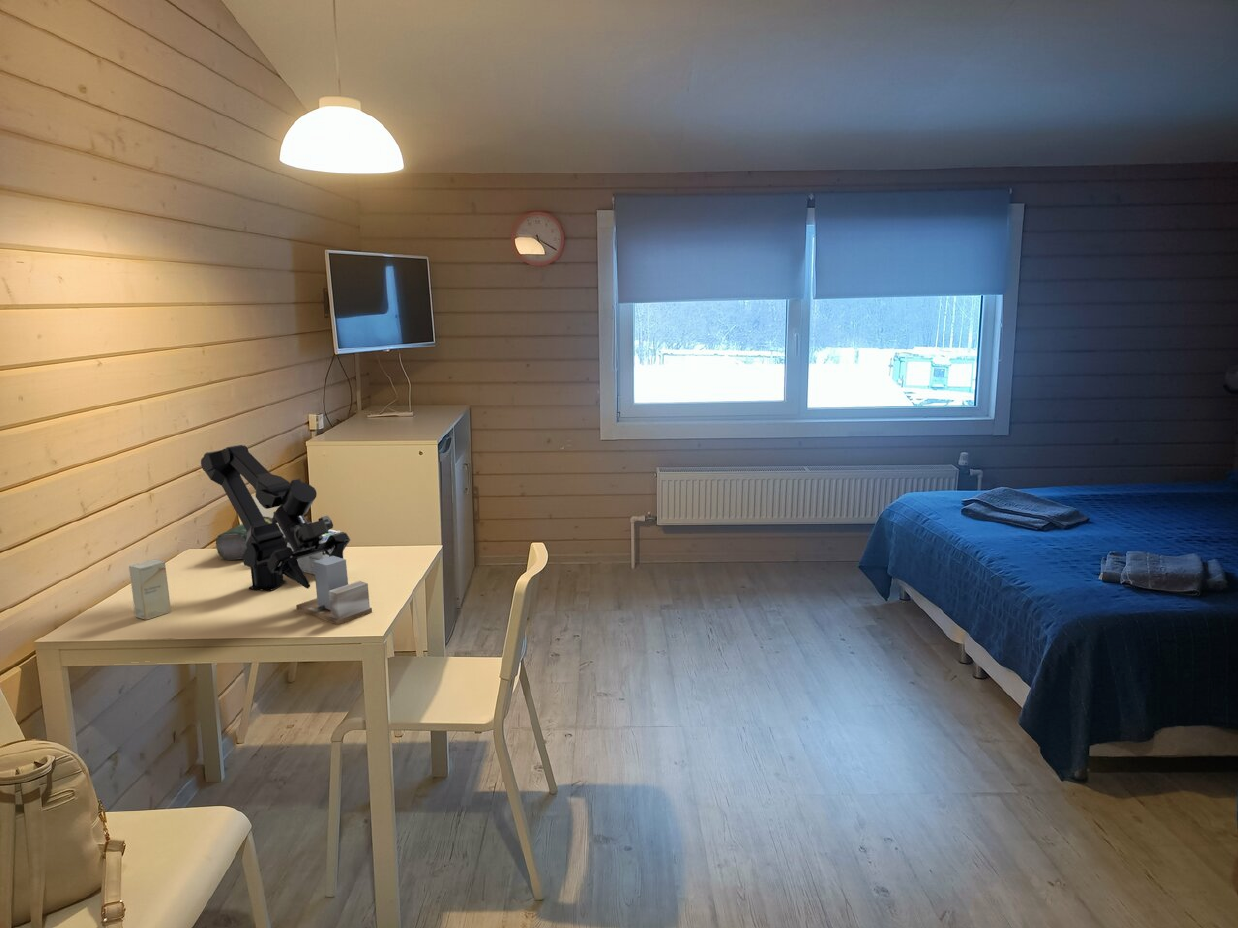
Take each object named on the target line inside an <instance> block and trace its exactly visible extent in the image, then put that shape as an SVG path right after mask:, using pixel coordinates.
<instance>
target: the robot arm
mask: <svg viewBox="0 0 1238 928" xmlns="http://www.w3.org/2000/svg"><path fill="white" fill-rule="evenodd" d="M200 466H201V468H202V470H203V471H204V473H205V474H206V476H207V477H208V478H209V480H210V481H212V482H214V483H215V484H217V485H219V486H221V487H222V488H223V491H224V492H225V495H226V496H227V498H228V500H229V502H230V504H231V505H232V507H233V508H234V511H235V512H236V514H237V516H238V518H239V520H240V522H241V524H243V525H244V527H245V529H246V531H247V538H246V546H247V549H246V551H245V552H244V554H243V556H242V559H241V560H242V563H243V564H244V566H247V567H248V568H250V574H251V584H252V585H250V586H249V587H248V590H254V591H268V592H269V591H274V590H276V589H277V588H279V587H280V586H281V587H282V585H284V584H286V583H287V580H286V579H284V576H285V577H287V578H288V579H291V580H293V581H294V582H296V583H297V584H299V585H300V586H302V587H303V588H305V589H310V587H311V584H310V582H309V580H308V578H307V577H306V575H305V572H302V570H301V568H300V567H299V565H298V559H299V558H302V557H306V556H309V555H313V554H316V553H320V552H323V551H325V553H326V554H327V555H329V557H330V556H336V557H339V558H342V559H343V557H344V551H345V549H346V548H347V547H348V544H349V543H350V541H351V538H350V536H349V535H348V533H346V532H344V531H341V533H337V534H333V535H330V536H329V538H328V540H327V541H326V542H324V543H321V544H320V543H319V541H321V540H322V539H323V536H322V535H323V534H325V533H326V534H327V533H329V532H328V530H330V529H331V530H333V528H334V524H333V521H332V520H331V517H330V516H329V515H324V516H321V517H319V518H318V520H317V521H314V522H312V521H307V519H306V517H305V516H304V515H307V513H308V512H309V509H310V508H311V507H312V505H313V503H314V501H315V499H316V498H317V494H318V493H317V491H316V488H315V487H314V486H312V485H311V484H308V483H307V482H302V480H301V479H300V478H296V479H292V480H291V481H290V482H289V480H287V479H286V478H284V477H283V476H279V475H277V474H273V473H271V472H270V471H268V470H267V468H265V466H264V465H263V464H261V462H260V461H258V459H256V458H255V457H254V455H253V454H251V452H249V449H248V447H247V446H246V445H245V444H244V445H243V444H239V445H232V446H231V445H230V446H228V447H225V448H223V449H221V450H214V451H210V452H209V451H208V452H206V453H204V454H203V457H202V458H201V460H200ZM242 477H243V478H244V479H245V480H246V481H247V482H248V483H249V485H251V486H252V487H253V488H254V490H255V496H254V497H255V498H256V499H257V502H258V503H259V504H260V506H262V507H263V508H264V509H266V510H267V509H272V508H276V510H275V511H273V515H272V517H271V518H272V523H268V522H266V521H265V519H264V516H263V513H262V512H261V509H260V508H259V507H258V504H257V502H256V501H255V499H254V498H253V496H252V494H251V492H250V490H249V489H248V487H247V484H246V483H245V481H244V480H243V478H242ZM279 526H280V528H281V529H279ZM281 530H282V531H283V533H284V534H283V533H282V532H281ZM284 535H285V537H284ZM287 543H289V544H290V545H291V547H292V549H293V551H292V549H291V548H290V547H287Z"/></svg>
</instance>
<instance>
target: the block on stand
mask: <svg viewBox="0 0 1238 928" xmlns="http://www.w3.org/2000/svg"><path fill="white" fill-rule="evenodd" d="M369 595H370V594H369V584H368V582H365V581H362V580H358V581H356V582H352V583H348V585H345V586H342V587H339V588H336V589H333V590H330V591H329V599H330V610H329V609H326V608H324V609H321V610H318V607H319V606H318V602H317V597H316V598H313V599H310V600H308V601H304V602H301V603H298V604H296V605H295V607H296V610H298V611H301V612H303V613H306V614H308V615H311V616H313V617H316V618H319V619H322V620H324V621H326V620H327V622H329V623H332V624H335V625H338V626H339V625H341V624H343V623H346V622H348V621H352V620H354V619H357V618H360V617H362V616H365V615H369V614H371V613H373V608H372V607H371V605H370V596H369Z"/></svg>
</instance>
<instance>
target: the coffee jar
mask: <svg viewBox="0 0 1238 928" xmlns="http://www.w3.org/2000/svg"><path fill="white" fill-rule="evenodd" d="M263 517H264V519H265V521H266V522H268V523H272V518H273V517H270V516H263ZM246 538H247V531H246V529H245V527H244V525H243V524H242V523H241V524H238V525H237V526H234V527H233V528H230V529H229V530H227V531H224V532H222V533H220V534H219V535H217V536H216V539H215V548H216V551H217V553H218V555H219V557H221V558H222V559H224V560H229V561H235V560H243V559H242V556H243V554H244V552H245V551H246V549H247V546H246Z"/></svg>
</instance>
